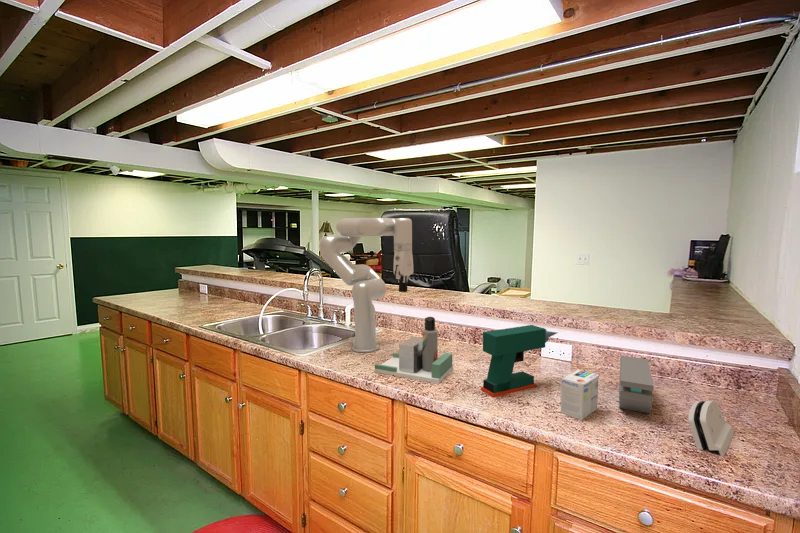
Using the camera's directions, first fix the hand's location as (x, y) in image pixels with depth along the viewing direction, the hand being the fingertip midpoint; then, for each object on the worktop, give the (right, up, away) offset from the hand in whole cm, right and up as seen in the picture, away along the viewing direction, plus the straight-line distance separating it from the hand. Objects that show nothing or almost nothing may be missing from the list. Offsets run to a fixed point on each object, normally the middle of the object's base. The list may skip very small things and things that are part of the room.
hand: (403, 291), depth 160 cm
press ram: (+4, -28, -13) cm, 31 cm away
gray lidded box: (+71, -32, -41) cm, 88 cm away
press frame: (+4, -30, -12) cm, 33 cm away
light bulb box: (+52, -33, -46) cm, 77 cm away
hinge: (+78, -34, -62) cm, 105 cm away
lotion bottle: (+10, -29, -15) cm, 34 cm away
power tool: (+42, -31, -27) cm, 59 cm away
